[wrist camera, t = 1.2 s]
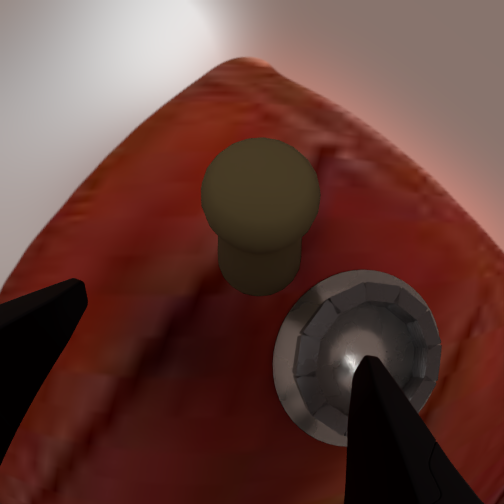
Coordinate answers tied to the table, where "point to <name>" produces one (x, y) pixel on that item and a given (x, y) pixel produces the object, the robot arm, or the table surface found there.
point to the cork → (260, 212)
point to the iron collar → (352, 348)
